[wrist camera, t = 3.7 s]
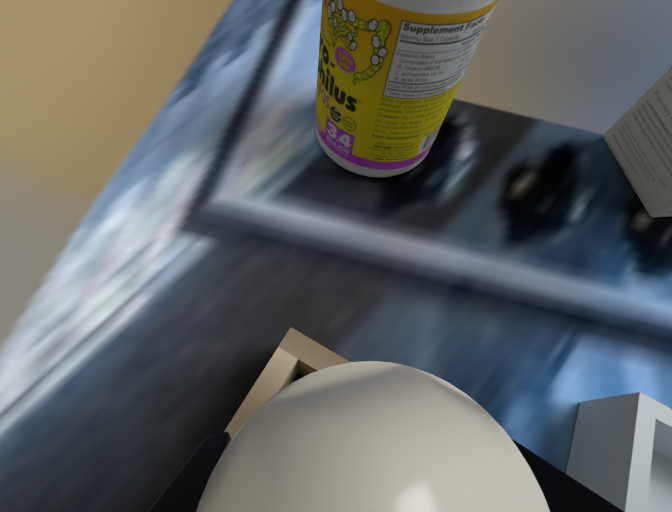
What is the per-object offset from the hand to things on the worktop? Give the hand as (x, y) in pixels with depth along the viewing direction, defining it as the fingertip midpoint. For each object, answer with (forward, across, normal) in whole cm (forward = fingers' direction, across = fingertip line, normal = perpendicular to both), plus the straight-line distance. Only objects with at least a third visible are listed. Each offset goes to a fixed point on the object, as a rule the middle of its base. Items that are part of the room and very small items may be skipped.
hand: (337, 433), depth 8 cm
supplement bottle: (+16, -4, -6) cm, 17 cm away
